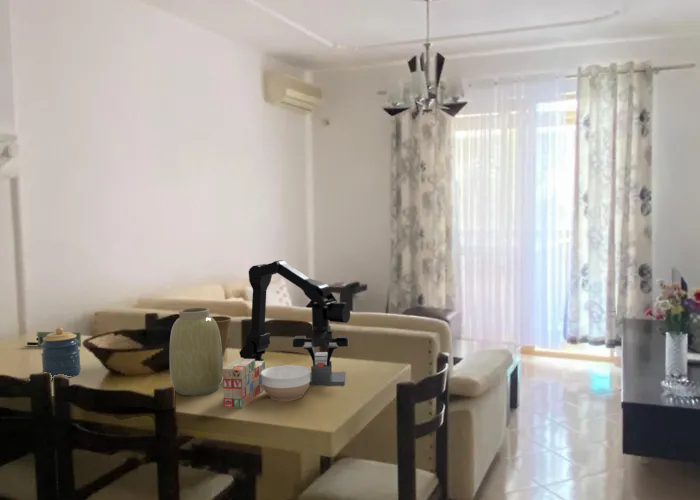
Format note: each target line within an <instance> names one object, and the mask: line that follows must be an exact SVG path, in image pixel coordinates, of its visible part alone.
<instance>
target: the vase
mask: <svg viewBox="0 0 700 500" xmlns="http://www.w3.org/2000/svg"><path fill="white" fill-rule="evenodd" d="M178 313H179V317H178V318H177V319H176V320H175V321H174V323H173V325H172V328H171V331H170V338H169V355H168V356H169V357H168V359H169V374H170V381H171V385H172V386H173V388H174V390H175V392H176V393H177V394H180V395H183V396H200V395H201V396H202V395H208V394H211V393H213V392H215V391H217V390H218V389H219V387H220V386H221V383H222V381H223V368H224V363H223V362H224V359H223V358H224V356H222V345H221V337H220V332H219V328H218V325H217V323H216V321H215V320H214V319H213V318H212V317H211V315H210V308H207V307H187V308H184V309H183V308H182V309H179V311H178Z"/></svg>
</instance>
